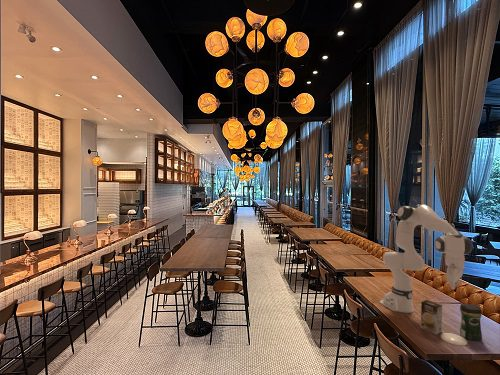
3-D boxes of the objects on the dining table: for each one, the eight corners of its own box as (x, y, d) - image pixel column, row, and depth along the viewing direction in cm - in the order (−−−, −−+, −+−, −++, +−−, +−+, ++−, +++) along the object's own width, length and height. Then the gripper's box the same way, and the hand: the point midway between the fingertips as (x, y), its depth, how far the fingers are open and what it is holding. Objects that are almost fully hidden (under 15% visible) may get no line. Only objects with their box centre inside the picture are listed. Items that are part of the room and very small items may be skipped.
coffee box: (420, 328, 173) (420, 301, 173) (425, 325, 176) (426, 299, 176) (436, 335, 165) (436, 307, 165) (442, 332, 168) (442, 304, 168)
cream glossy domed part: (435, 337, 162) (435, 335, 162) (449, 332, 167) (449, 331, 167) (458, 348, 152) (458, 346, 152) (472, 343, 156) (472, 341, 156)
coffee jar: (476, 334, 166) (476, 302, 166) (484, 342, 158) (484, 308, 158) (457, 333, 168) (457, 301, 167) (464, 340, 160) (464, 306, 160)
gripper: (457, 267, 150) (456, 293, 150) (465, 260, 164) (465, 284, 164) (442, 264, 155) (442, 290, 155) (452, 258, 169) (452, 282, 169)
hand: (454, 287), depth 159 cm, fingers open, 6 cm apart
